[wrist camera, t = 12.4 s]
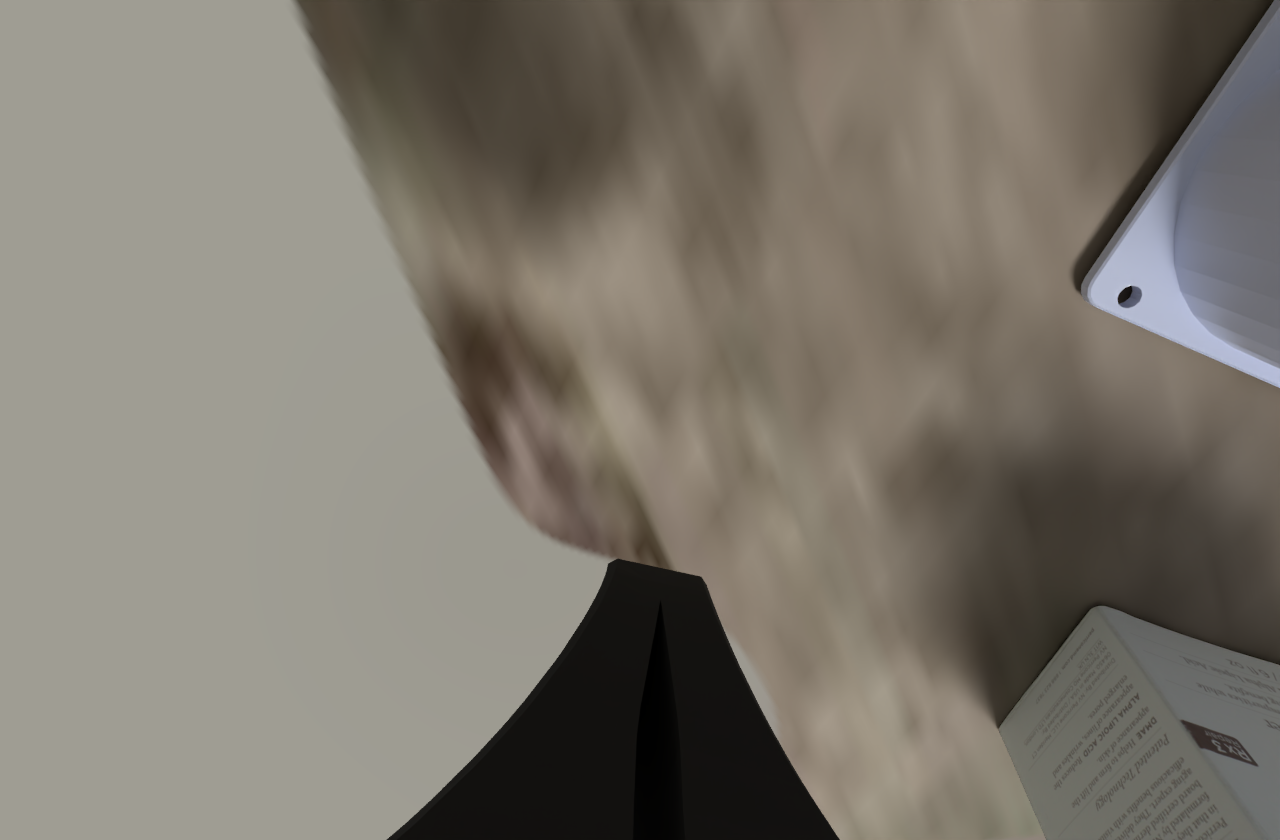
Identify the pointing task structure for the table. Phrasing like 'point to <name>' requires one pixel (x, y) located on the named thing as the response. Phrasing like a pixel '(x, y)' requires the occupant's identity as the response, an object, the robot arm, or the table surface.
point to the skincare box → (1149, 737)
